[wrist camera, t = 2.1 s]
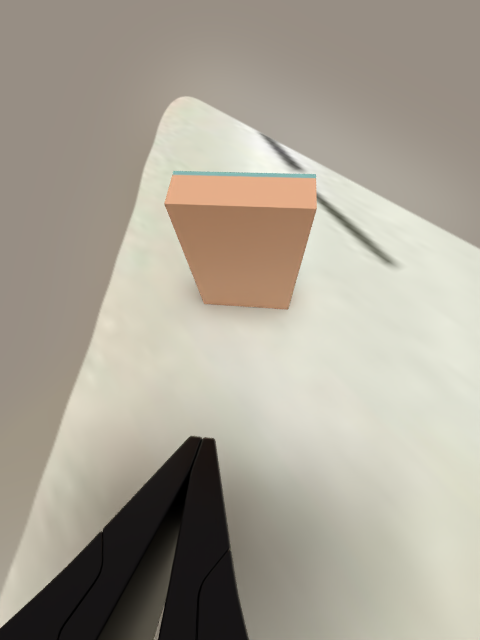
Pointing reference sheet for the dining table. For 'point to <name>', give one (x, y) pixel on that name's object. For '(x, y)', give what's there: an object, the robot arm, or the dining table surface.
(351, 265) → the dining table surface
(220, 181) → the glazed tile
